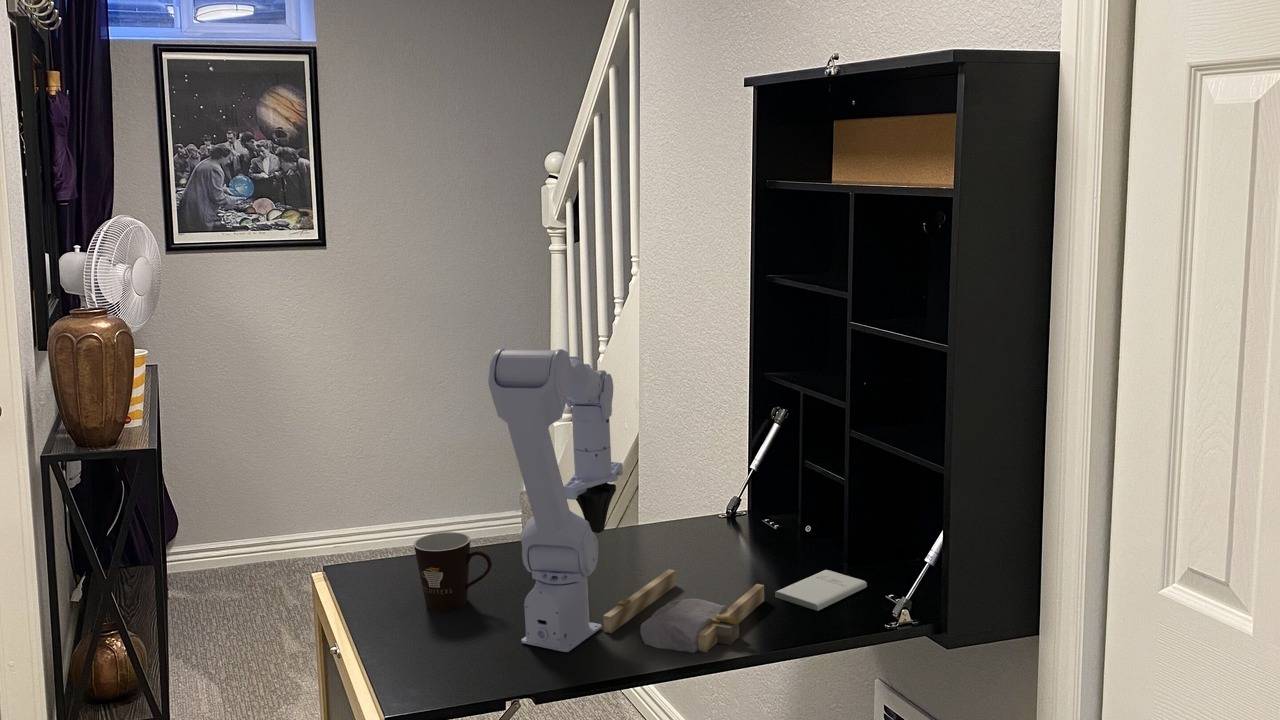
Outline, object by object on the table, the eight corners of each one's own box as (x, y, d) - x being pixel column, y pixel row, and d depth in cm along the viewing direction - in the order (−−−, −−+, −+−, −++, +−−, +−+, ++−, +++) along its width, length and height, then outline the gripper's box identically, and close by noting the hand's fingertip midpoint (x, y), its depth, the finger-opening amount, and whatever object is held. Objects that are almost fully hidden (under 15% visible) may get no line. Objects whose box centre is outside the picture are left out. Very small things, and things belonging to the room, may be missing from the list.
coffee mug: (407, 604, 182) (402, 543, 180) (451, 587, 188) (447, 528, 186) (454, 623, 174) (449, 559, 172) (498, 605, 180) (494, 543, 178)
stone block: (637, 657, 164) (699, 656, 160) (630, 624, 164) (692, 622, 159) (674, 628, 175) (734, 626, 170) (668, 597, 174) (728, 594, 170)
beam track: (723, 655, 159) (722, 631, 159) (604, 631, 168) (602, 609, 168) (780, 603, 176) (779, 581, 176) (668, 584, 186) (668, 563, 185)
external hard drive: (774, 600, 179) (824, 577, 187) (817, 614, 173) (867, 590, 181) (774, 590, 179) (824, 568, 187) (817, 604, 173) (867, 580, 181)
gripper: (589, 461, 171) (593, 549, 174) (637, 437, 184) (641, 520, 186) (549, 456, 175) (554, 542, 177) (599, 433, 187) (603, 514, 190)
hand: (596, 531), depth 182 cm, fingers closed
